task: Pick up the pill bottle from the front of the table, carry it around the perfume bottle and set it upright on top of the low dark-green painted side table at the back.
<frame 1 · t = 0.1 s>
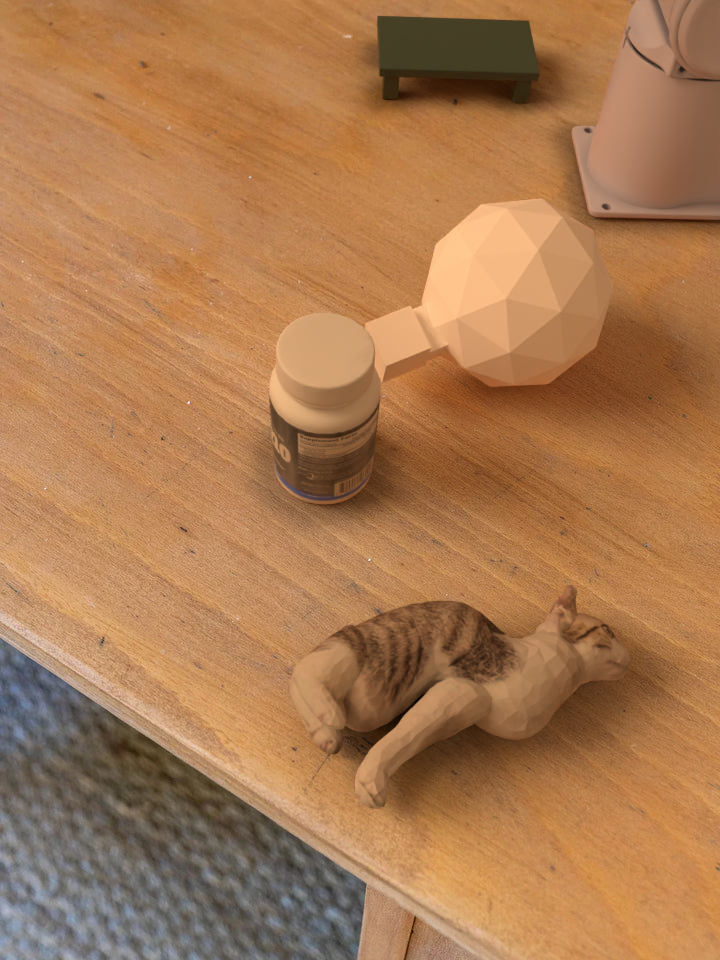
perfume bottle: (470, 357, 49), on the table
figurine: (399, 866, 33), point 2 cm above the table
pill bottle: (323, 467, 44), on the table
side table: (452, 76, 61), on the table
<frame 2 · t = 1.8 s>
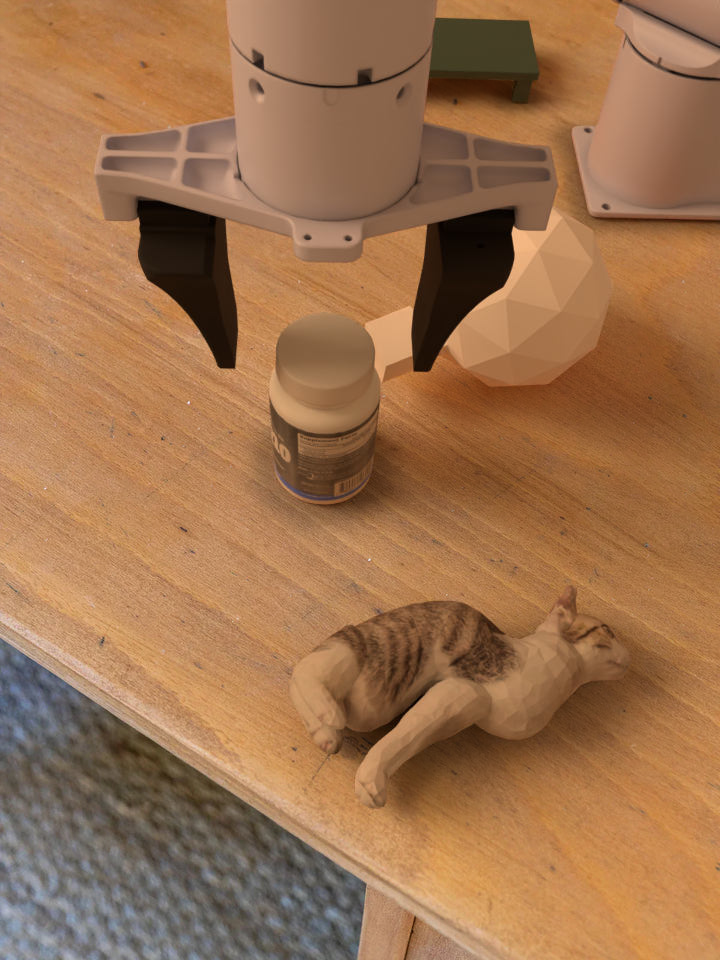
hand: (324, 351, 37), 8 cm above the table, tool pointing down, fingers open, 7 cm apart
nothing on the table moved.
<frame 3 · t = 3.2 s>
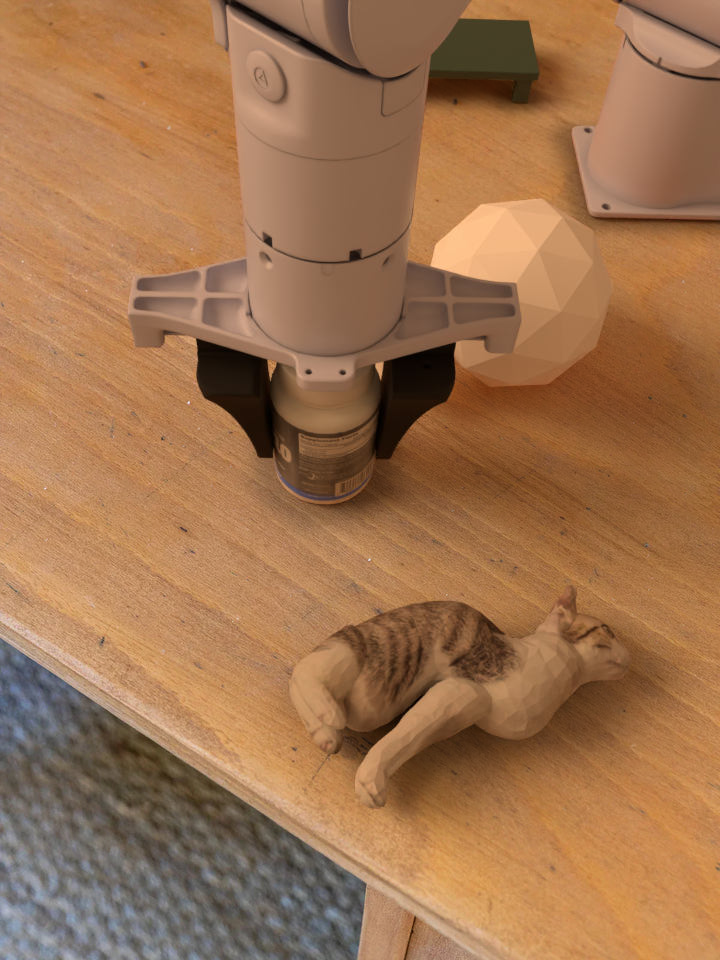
hand: (323, 440, 43), 2 cm above the table, tool pointing down, fingers closed on pill bottle, 5 cm apart
pill bottle: (324, 467, 44), on the table, touching gripper
everything else where it was.
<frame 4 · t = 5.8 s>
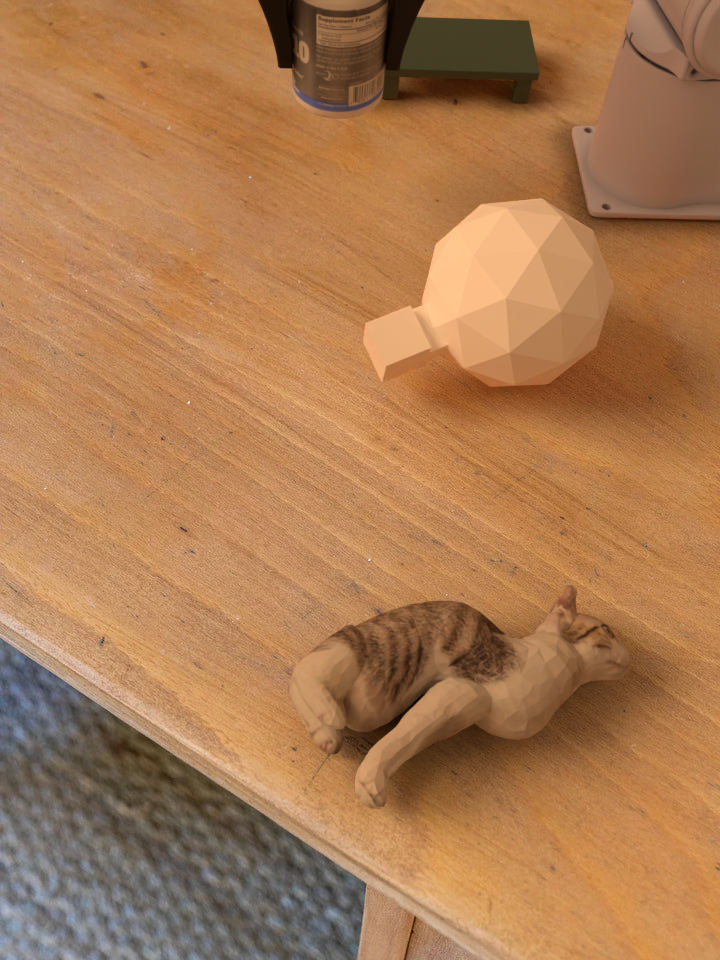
hand: (337, 57, 47), 9 cm above the table, tool pointing down, fingers closed on pill bottle, 5 cm apart
pill bottle: (337, 96, 48), point 7 cm above the table, touching gripper
everything else where it was.
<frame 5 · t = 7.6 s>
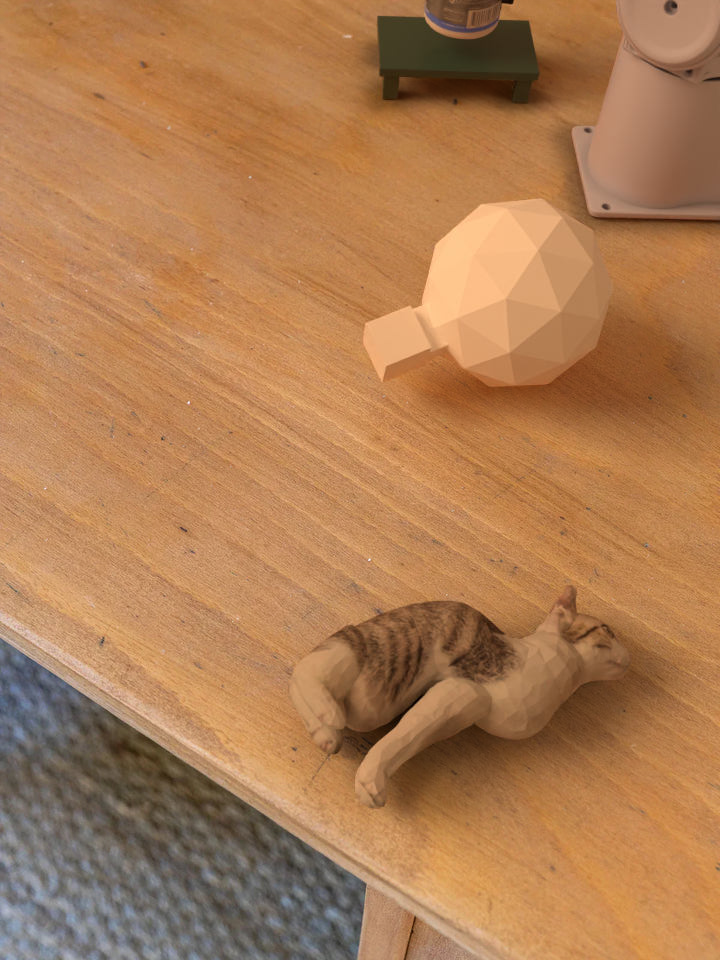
pill bottle: (460, 23, 58), point 4 cm above the table, touching gripper
everything else where it was.
when the fingers open (4 cm above the table, at t = 8.6 s): pill bottle stays where it is, resting on side table.
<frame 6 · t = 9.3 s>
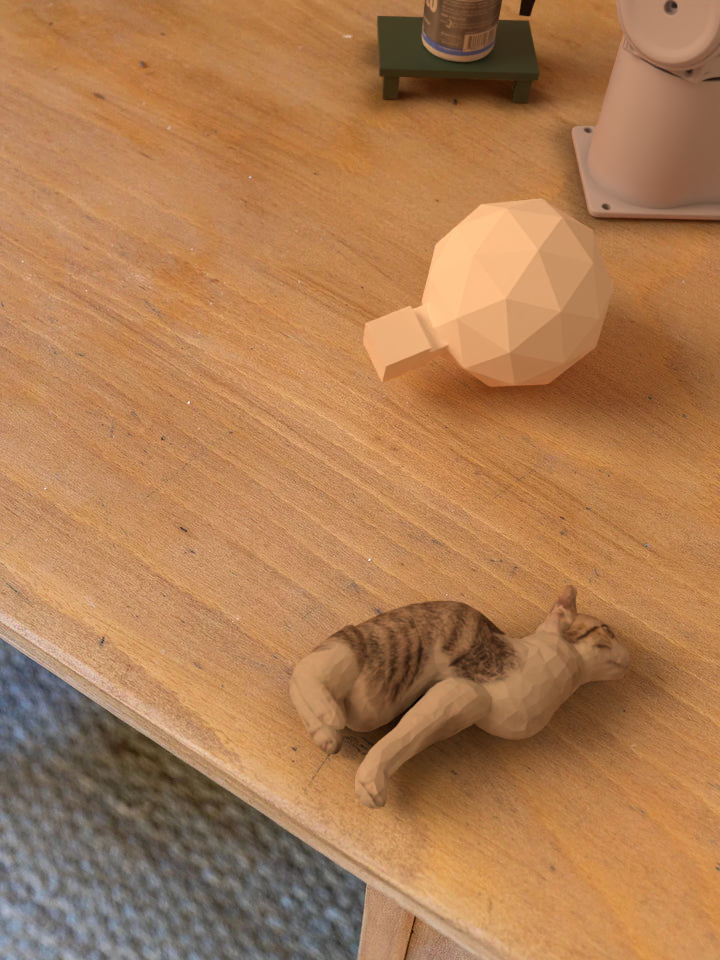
pill bottle: (457, 45, 60), point 2 cm above the table, touching side table
everything else where it was.
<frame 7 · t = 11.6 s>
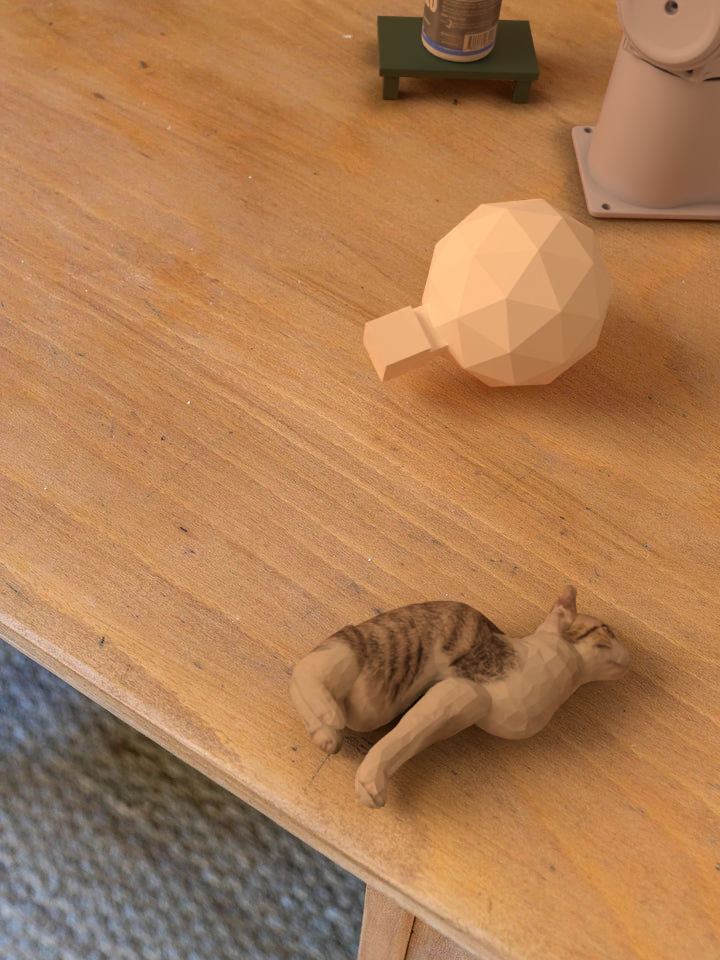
nothing on the table moved.
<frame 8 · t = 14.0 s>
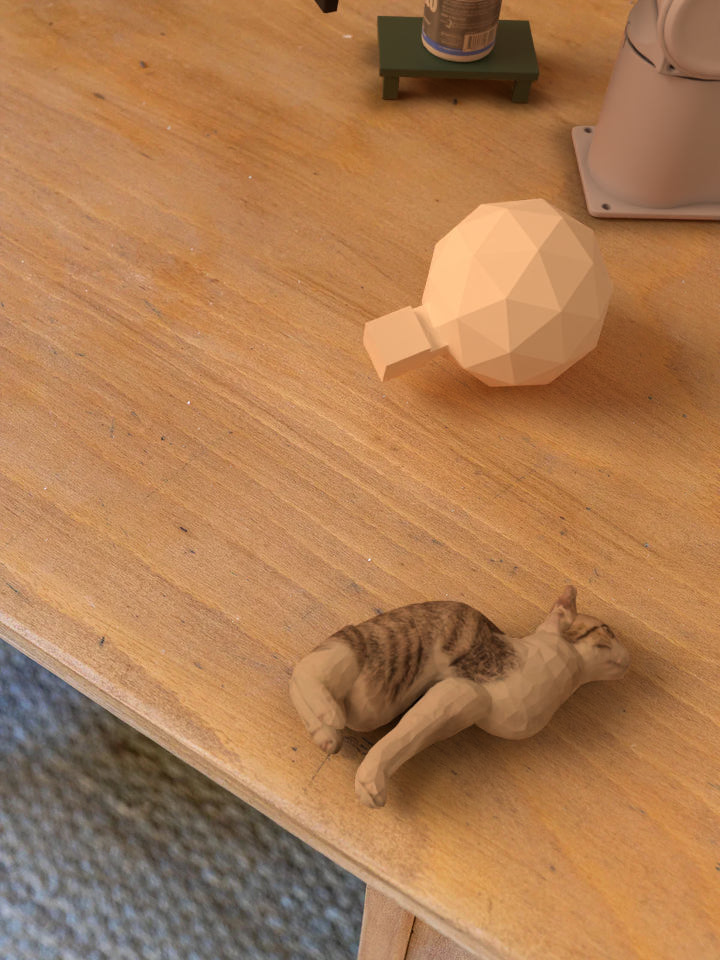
nothing on the table moved.
at the end: pill bottle 0.1 cm off-centre on the side table, point 2.1 cm above the side table's base; pill bottle tilted 0°; the gripper is holding nothing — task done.
